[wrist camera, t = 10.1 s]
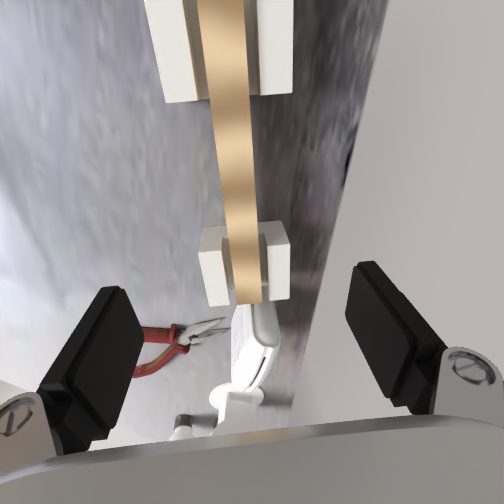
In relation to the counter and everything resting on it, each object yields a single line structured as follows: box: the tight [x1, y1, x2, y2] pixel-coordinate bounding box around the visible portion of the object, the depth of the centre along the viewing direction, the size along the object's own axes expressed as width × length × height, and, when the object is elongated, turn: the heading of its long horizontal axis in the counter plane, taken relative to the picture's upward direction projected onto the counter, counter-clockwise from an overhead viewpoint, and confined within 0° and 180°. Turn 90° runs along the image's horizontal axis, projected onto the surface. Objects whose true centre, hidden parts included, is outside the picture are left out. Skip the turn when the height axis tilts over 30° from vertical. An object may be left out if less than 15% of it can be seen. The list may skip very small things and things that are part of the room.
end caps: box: [144, 0, 293, 307], centre depth 27 cm, size 30×10×6 cm, turn 4°
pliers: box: [132, 319, 227, 378], centre depth 43 cm, size 12×20×3 cm, turn 109°
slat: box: [196, 0, 262, 305], centre depth 25 cm, size 28×3×4 cm, turn 4°
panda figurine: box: [208, 382, 264, 437], centre depth 48 cm, size 12×11×15 cm
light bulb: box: [168, 415, 194, 441], centre depth 53 cm, size 7×7×11 cm
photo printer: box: [231, 285, 281, 392], centre depth 35 cm, size 10×4×12 cm, turn 162°
